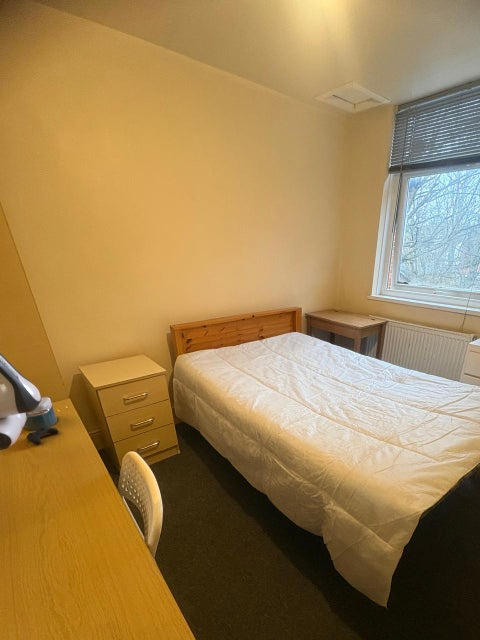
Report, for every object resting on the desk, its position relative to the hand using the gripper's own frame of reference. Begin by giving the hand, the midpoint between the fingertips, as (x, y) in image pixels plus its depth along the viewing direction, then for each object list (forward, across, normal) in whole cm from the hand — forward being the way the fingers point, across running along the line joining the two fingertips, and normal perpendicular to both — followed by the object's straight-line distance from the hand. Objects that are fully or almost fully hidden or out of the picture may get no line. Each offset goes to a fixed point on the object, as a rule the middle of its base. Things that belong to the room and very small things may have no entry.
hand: (19, 399), depth 115 cm
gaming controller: (-1, -3, +17) cm, 17 cm away
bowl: (+12, -1, +16) cm, 20 cm away
